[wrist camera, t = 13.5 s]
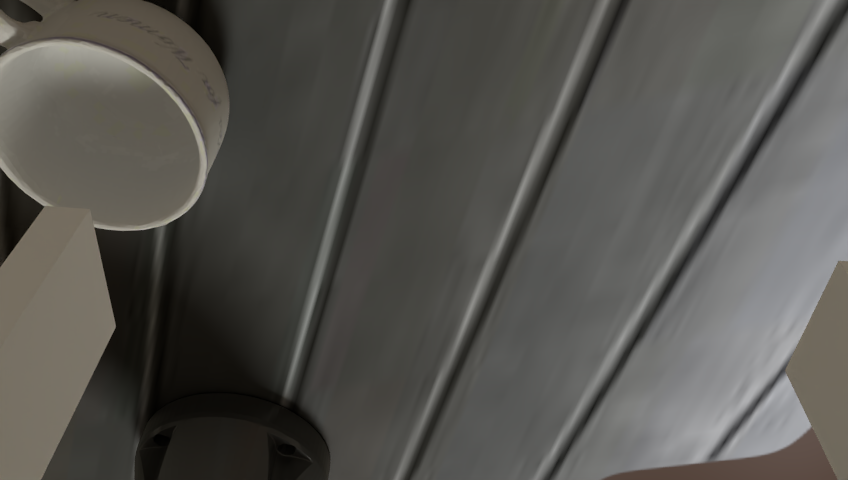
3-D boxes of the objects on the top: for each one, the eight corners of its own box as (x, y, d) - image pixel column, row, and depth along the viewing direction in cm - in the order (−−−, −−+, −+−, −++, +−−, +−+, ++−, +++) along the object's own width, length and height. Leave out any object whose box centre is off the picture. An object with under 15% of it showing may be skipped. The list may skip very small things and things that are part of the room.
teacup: (275, 128, 45) (245, 209, 39) (112, 174, 47) (58, 257, 41) (151, -120, 37) (87, -68, 31) (-37, -49, 39) (-133, 12, 33)
